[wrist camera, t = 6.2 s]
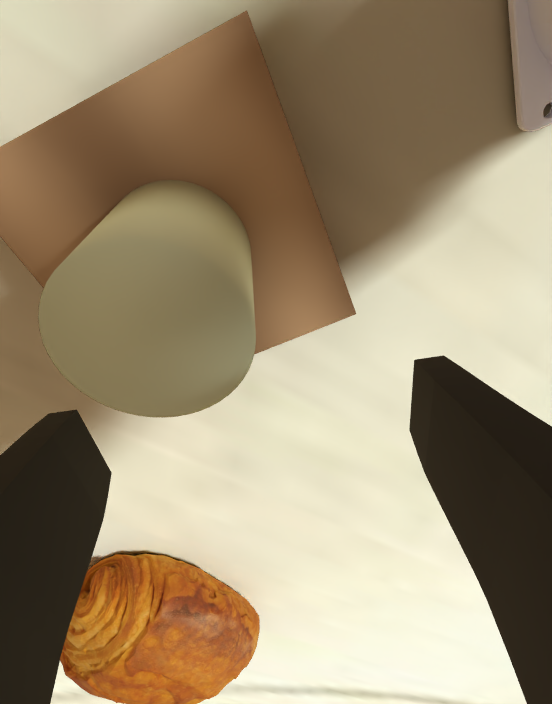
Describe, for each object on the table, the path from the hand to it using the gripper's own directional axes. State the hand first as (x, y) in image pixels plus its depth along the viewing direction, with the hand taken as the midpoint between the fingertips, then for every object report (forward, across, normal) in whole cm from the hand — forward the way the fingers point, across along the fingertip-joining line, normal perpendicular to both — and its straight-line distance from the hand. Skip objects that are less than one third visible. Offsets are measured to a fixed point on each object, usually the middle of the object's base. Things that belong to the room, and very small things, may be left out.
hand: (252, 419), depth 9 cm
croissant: (+11, +12, +28) cm, 32 cm away
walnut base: (+10, +2, -1) cm, 11 cm away
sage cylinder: (+7, +2, -1) cm, 8 cm away
